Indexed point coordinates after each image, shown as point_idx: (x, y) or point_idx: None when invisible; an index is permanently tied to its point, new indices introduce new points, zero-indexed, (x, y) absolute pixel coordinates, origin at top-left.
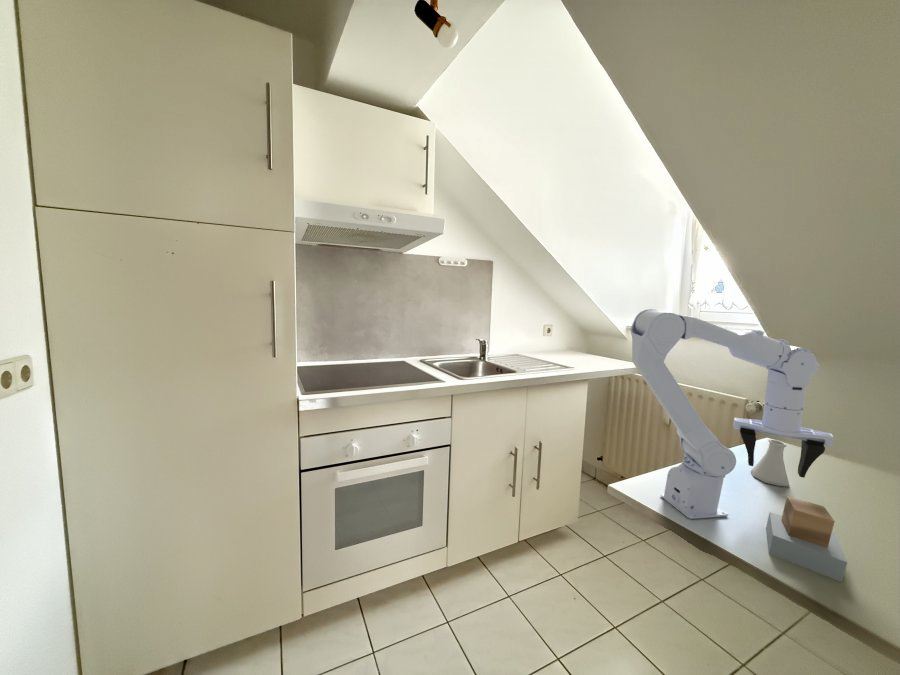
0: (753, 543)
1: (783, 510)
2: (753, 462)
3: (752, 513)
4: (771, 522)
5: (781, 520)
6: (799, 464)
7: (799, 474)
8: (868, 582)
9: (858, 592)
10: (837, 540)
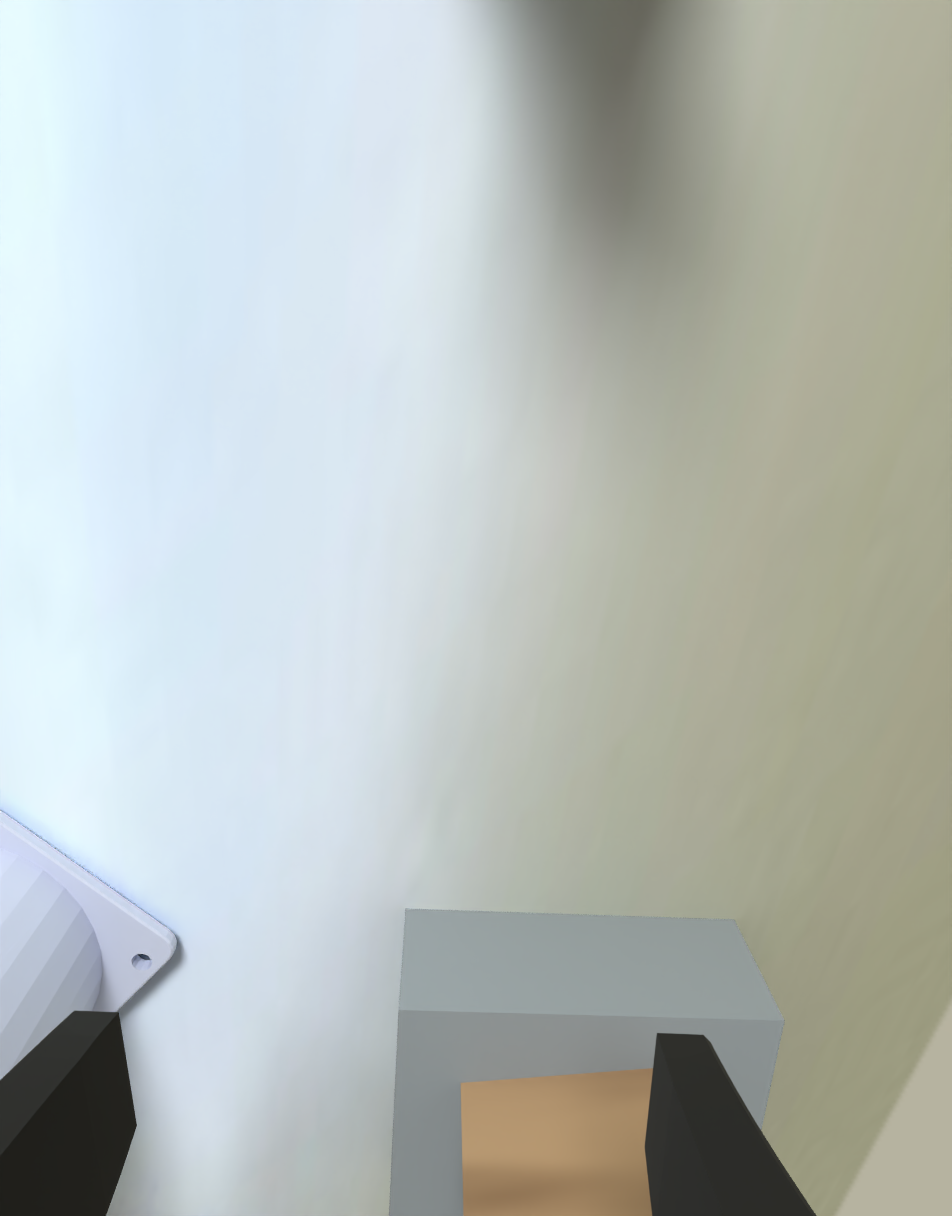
0: (325, 1125)
1: (462, 1164)
2: (104, 1209)
3: (335, 757)
4: (393, 1155)
5: (461, 1090)
6: (687, 1178)
7: (650, 1148)
8: (819, 1088)
9: None
10: (762, 1101)
